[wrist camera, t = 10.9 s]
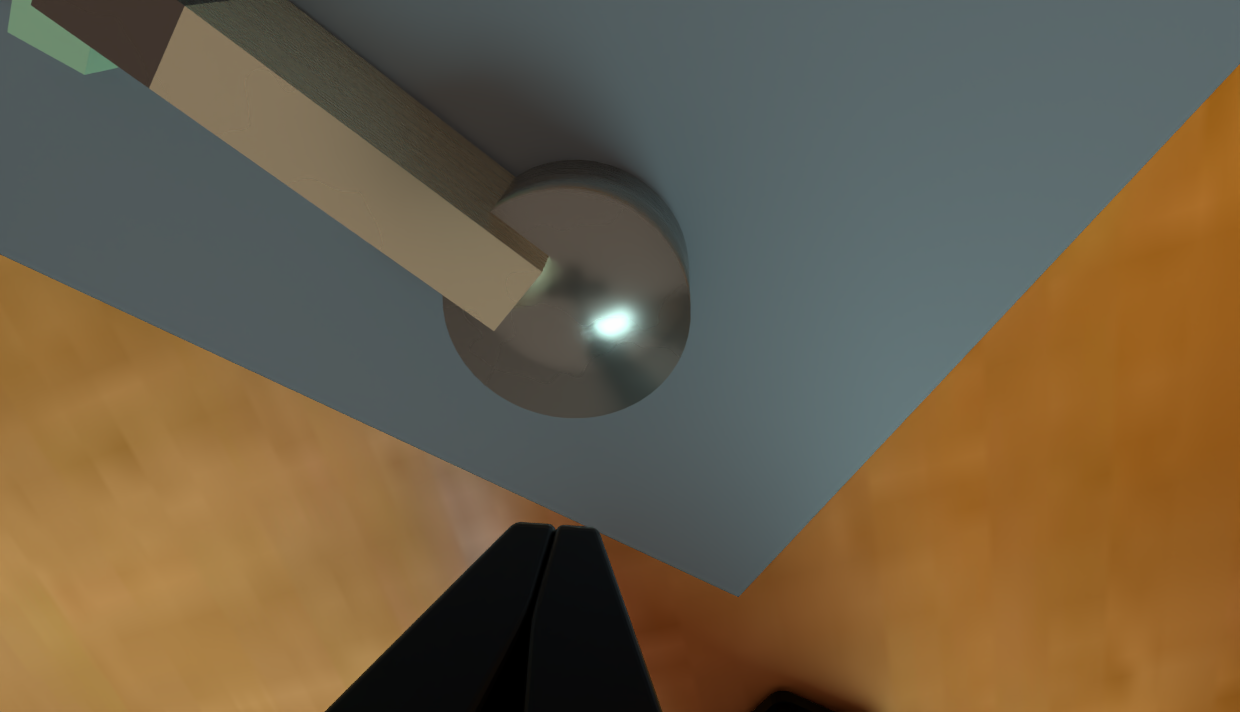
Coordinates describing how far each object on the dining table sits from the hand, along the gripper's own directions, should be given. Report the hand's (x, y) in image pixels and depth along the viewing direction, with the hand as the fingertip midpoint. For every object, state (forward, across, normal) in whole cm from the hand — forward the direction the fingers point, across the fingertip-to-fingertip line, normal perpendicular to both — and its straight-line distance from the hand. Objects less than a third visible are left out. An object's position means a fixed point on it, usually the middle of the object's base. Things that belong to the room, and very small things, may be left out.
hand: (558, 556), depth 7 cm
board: (+11, +2, -2) cm, 12 cm away
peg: (+10, +4, -2) cm, 11 cm away
